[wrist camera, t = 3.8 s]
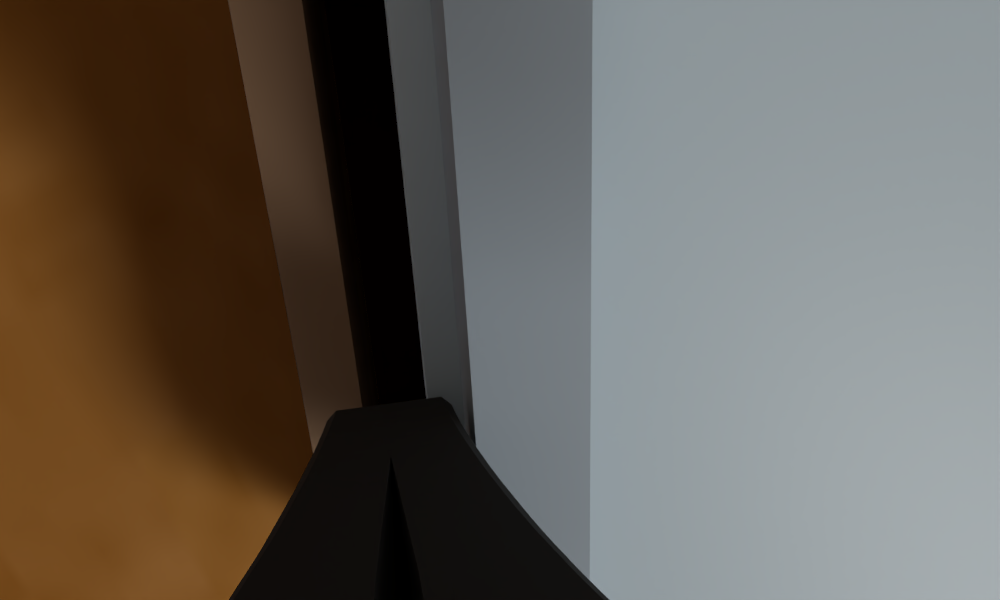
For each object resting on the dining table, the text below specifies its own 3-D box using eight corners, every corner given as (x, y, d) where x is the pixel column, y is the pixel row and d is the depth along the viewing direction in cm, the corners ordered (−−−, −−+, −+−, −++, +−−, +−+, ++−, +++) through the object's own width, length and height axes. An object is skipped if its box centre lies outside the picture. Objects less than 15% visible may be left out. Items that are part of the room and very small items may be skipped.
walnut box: (366, 540, 17) (371, 763, 13) (255, -150, 11) (188, -207, 7) (913, 455, 19) (1092, 623, 14) (1059, -180, 13) (1440, -241, 9)
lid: (463, 751, 13) (480, 876, 11) (362, -212, 7) (365, -260, 5) (1168, 613, 15) (1276, 703, 13) (1562, -246, 9) (1857, -291, 7)
